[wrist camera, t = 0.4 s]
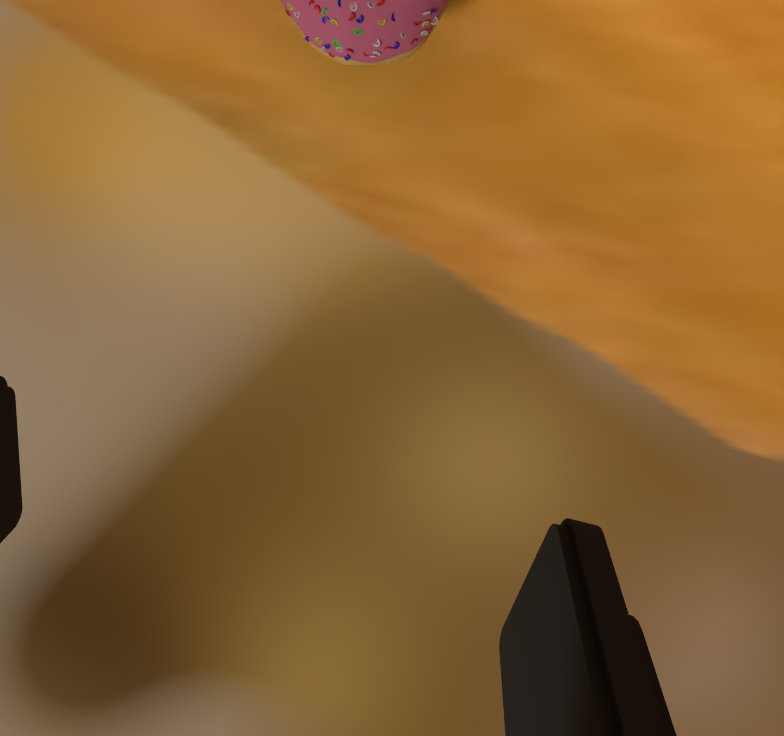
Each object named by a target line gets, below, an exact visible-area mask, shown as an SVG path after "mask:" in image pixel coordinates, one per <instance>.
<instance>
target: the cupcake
mask: <svg viewBox="0 0 784 736" xmlns="http://www.w3.org/2000/svg"><path fill="white" fill-rule="evenodd" d="M281 1H282V3H283V5H284V7H285V9H286V13H287V14H288V15H289V16H290V17H291V19H292V20H293V22H294V23H295V25H296V26H297V28H298V29H299V30H300V32H301V33H302V34H303V36H304V37H305V39H306V40H307V41H308V42H309V43H310V44H311V46H313V47H314V48H315V49H316V50H317V51H318V52H320V53H321V54H323V55H324V56H326V57H328V58H330V59H332V60H334V61H336V62H339V63H342V64H347V65H356V66H361V65H375V64H385V63H395V62H398V61H400V60H402V59H405V58H407V57H409V56H410V55H412V54H413V53H415V52H416V51H417V50H418V49H419V48H420V47H421V46H422V45H423V44H424V43H425V41H426V40H427V38H428V37H429V35H430V34H431V32H432V31H433V29H434V27H435V26H436V24H437V23H438V21H439V19H440V18H441V16H442V14H443V13H444V11H445V9H446V7H447V6H448V4H449V2H450V0H281Z"/></svg>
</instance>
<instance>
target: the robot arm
mask: <svg viewBox="0 0 784 736" xmlns="http://www.w3.org/2000/svg"><path fill="white" fill-rule="evenodd" d="M21 513H22V496H21V480H20V464H19V449H18V432H17V416H16V400H15V393H14V390H13V389H12V388H11V387H8V386H7V382H6V380H5V378H3V377H2V376H0V543H1V542H2V541H3V539H5V538H6V537H7V535H8V534H9V533H10V532H11V531H12V530H13V529H14V528H15V526H16V525H17V523H18V521H19V519H20V517H21ZM499 646H500V647H499V651H500V664H501V679H502V692H503V706H504V720H505V733H506V734H505V735H506V736H676V733H675V730H674V727H673V724H672V721H671V717H670V715H669V711H668V708H667V705H666V702H665V699H664V696H663V693H662V690H661V687H660V684H659V681H658V678H657V674H656V672H655V668H654V665H653V662H652V659H651V656H650V653H649V650H648V647H647V644H646V641H645V637H644V634H643V631H642V629H641V627H640V624H639V622H638V621H637V620H636V619H635V618H634V617H633V616H631V615H628V611H627V608H626V605H625V601H624V598H623V595H622V592H621V588H620V585H619V582H618V579H617V576H616V572H615V569H614V566H613V563H612V559H611V556H610V553H609V550H608V547H607V543H606V540H605V537H604V534H603V531H602V529H601V528H600V527H599V526H596V525H593V524H589V523H585V522H581V521H577V520H572V519H569V518H567V519H565V520H564V521H562V523H561V525H558V524H552V525H551V526H550V528H549V530H548V532H547V534H546V536H545V538H544V540H543V542H542V545H541V547H540V549H539V551H538V553H537V555H536V557H535V559H534V562H533V564H532V566H531V568H530V570H529V572H528V575H527V576H526V579H525V581H524V583H523V585H522V588H521V589H520V592H519V594H518V596H517V598H516V600H515V602H514V604H513V606H512V609H511V611H510V613H509V615H508V617H507V619H506V621H505V624H504V626H503V628H502V632H501V636H500V644H499Z"/></svg>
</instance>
